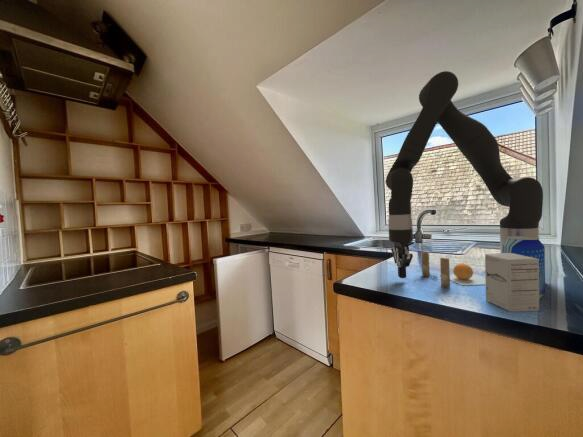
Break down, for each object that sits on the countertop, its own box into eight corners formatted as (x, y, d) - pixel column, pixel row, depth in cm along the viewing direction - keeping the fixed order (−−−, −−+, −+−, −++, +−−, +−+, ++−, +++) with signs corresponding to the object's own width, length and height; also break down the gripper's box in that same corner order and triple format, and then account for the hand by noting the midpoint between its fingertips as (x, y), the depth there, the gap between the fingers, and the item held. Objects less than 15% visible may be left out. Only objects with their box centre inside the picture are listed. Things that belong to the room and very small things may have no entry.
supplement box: (484, 300, 64) (483, 253, 64) (513, 299, 64) (512, 252, 63) (508, 312, 57) (507, 259, 56) (541, 311, 57) (540, 257, 56)
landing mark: (474, 274, 88) (474, 273, 88) (500, 284, 76) (500, 283, 76) (440, 275, 88) (440, 274, 88) (461, 285, 76) (461, 284, 76)
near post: (447, 285, 78) (446, 257, 77) (451, 287, 75) (450, 258, 75) (439, 285, 78) (438, 257, 77) (443, 287, 75) (442, 259, 75)
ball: (447, 274, 85) (462, 279, 85) (457, 278, 80) (474, 284, 79) (452, 259, 85) (468, 264, 85) (463, 263, 79) (479, 268, 79)
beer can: (526, 289, 71) (525, 235, 70) (555, 299, 62) (554, 238, 62) (495, 289, 71) (494, 236, 71) (519, 300, 63) (518, 239, 63)
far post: (427, 274, 90) (426, 250, 90) (430, 276, 88) (430, 252, 87) (421, 274, 90) (420, 251, 90) (424, 276, 88) (423, 252, 87)
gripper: (420, 228, 76) (422, 282, 76) (403, 225, 89) (405, 272, 90) (396, 229, 76) (398, 283, 77) (383, 226, 89) (384, 272, 90)
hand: (402, 277), depth 83 cm, fingers closed
